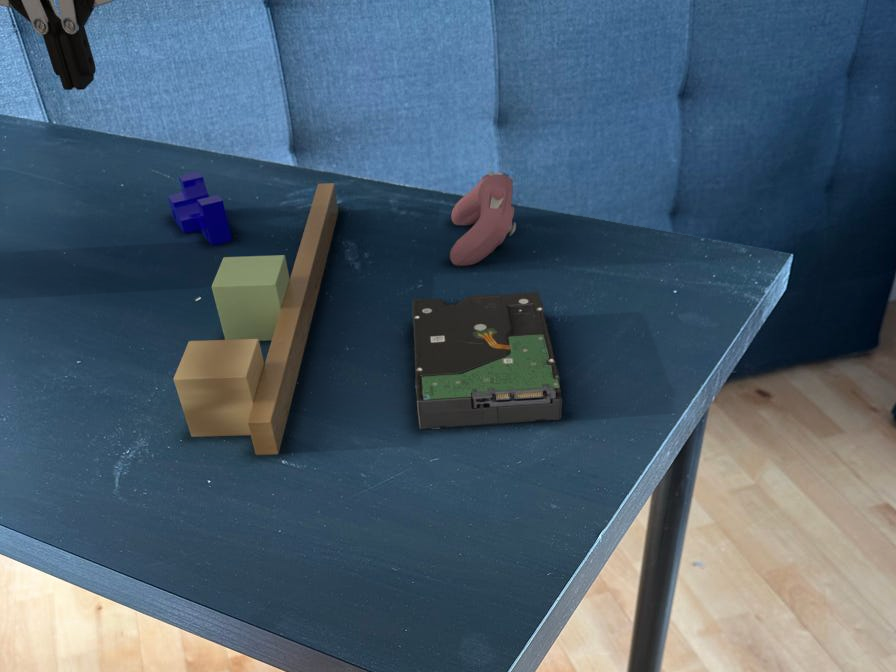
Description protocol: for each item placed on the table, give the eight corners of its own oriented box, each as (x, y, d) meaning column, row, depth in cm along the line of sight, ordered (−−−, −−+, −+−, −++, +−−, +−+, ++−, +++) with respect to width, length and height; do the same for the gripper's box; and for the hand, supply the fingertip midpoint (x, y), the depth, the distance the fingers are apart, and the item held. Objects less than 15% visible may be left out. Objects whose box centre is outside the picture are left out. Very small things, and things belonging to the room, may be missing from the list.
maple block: (192, 440, 67) (172, 378, 63) (206, 401, 70) (188, 340, 66) (261, 438, 66) (246, 376, 63) (272, 399, 70) (258, 338, 66)
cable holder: (174, 221, 92) (163, 179, 89) (209, 213, 93) (198, 171, 90) (196, 252, 87) (185, 209, 84) (232, 243, 88) (222, 200, 85)
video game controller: (492, 285, 84) (527, 213, 79) (445, 265, 82) (478, 190, 78) (491, 237, 91) (523, 168, 86) (447, 218, 89) (478, 146, 85)
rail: (256, 458, 65) (247, 422, 63) (322, 215, 92) (317, 183, 90) (279, 458, 65) (270, 421, 63) (339, 214, 92) (334, 182, 90)
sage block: (226, 345, 75) (211, 286, 72) (237, 314, 79) (223, 256, 75) (287, 343, 75) (275, 284, 72) (296, 312, 79) (285, 254, 75)
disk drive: (412, 331, 76) (419, 434, 66) (409, 299, 74) (416, 400, 64) (538, 322, 76) (565, 423, 66) (539, 289, 74) (566, 388, 64)
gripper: (-138, -200, 63) (-26, 100, 76) (80, -205, 62) (154, 99, 76) (-88, -212, 68) (9, 71, 81) (114, -217, 68) (178, 70, 81)
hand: (79, 84), depth 79 cm, fingers closed
